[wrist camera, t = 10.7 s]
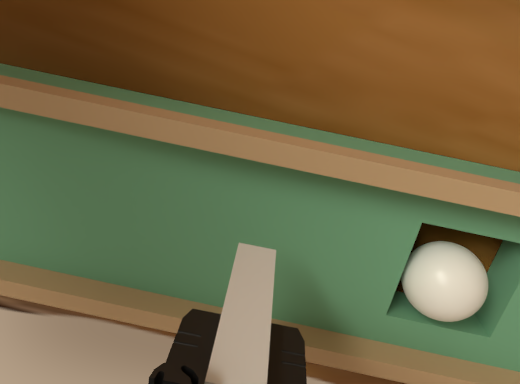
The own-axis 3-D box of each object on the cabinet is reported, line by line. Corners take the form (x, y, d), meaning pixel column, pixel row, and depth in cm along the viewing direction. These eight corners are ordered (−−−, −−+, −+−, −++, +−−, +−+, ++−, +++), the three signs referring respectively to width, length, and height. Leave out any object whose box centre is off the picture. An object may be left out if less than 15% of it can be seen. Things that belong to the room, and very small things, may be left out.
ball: (500, 275, 21) (425, 246, 23) (502, 246, 18) (415, 217, 20) (471, 344, 20) (396, 307, 22) (467, 327, 17) (380, 286, 19)
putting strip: (-62, 50, 20) (-144, 53, 16) (599, 188, 19) (670, 224, 16) (-40, 236, 24) (-101, 273, 20) (505, 354, 24) (544, 413, 20)
